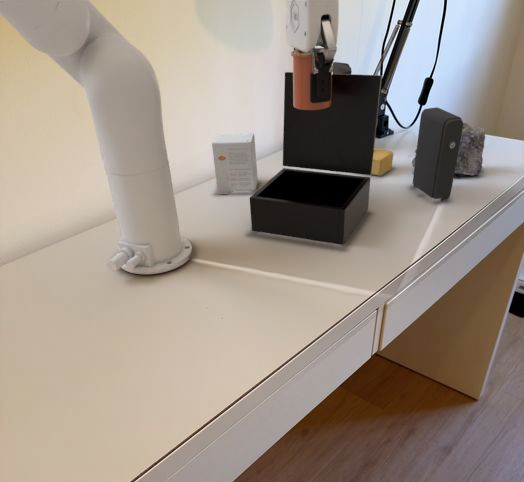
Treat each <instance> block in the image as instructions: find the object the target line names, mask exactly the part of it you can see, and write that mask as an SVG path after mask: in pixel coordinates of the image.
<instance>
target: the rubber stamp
mask: <svg viewBox="0 0 524 482" xmlns="http://www.w3.org/2000/svg"><path fill="white" fill-rule="evenodd" d="M378 117H379V116H378ZM378 117H377V124H378V123H379V118H378ZM377 126H378V125H377ZM377 126H376V128H377ZM393 159H394V151H392V150H387V149H383V148H375V147H374V154H373V163H372V172H371V175H373V176H376V177H377V176H378V177H382V176H383V175H385V174H386V173H387V172H389V171H390V170H392V169H393Z"/></svg>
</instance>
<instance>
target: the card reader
mask: <svg viewBox="0 0 524 482" xmlns="http://www.w3.org/2000/svg"><path fill="white" fill-rule="evenodd" d="M463 123H464V121H463V119H462V117H461V116H459V115H456V114H454V113H451V112H449V111H446V110H445V109H442V108H441V107H429V108H424V109H423V110H422V112H421V113H420V119H419V125H418V126H419V128H418V136H417V144H416V149H417V150H416V149H415V150H416V153H415V155H416V158H415V157H414V158H415V167H413V169H414V170H413V177H412V184H413V187H414V188H417V189H418V190H420V191H421V192H423V194H426V195H427V196H428V197H430V198H431V199H432V198H433V199H435V200H438V199H440V202H442V201H447V200H449V198H450V197H451V193H452V189H453V184H454V178H455V174H456V173H455V168H456V163H457V157H458V151H459V146H460V140H461V134H462V129H463Z"/></svg>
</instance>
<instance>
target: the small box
mask: <svg viewBox="0 0 524 482" xmlns="http://www.w3.org/2000/svg"><path fill="white" fill-rule="evenodd" d="M211 148H212V158H213V164H214V174H215V181H216V189H217V194H218V195H231V194H232V193H233V192H234V191H255V190H256V188H257V186H258V183H259V182H258V180H259V179H258V167H257V166H258V165H257V152H256V138H255V133H254V132H249V133H225V134H223V133H221V134H216V135H215V137H214V139H213V141H212V143H211Z"/></svg>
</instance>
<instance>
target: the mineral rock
mask: <svg viewBox="0 0 524 482" xmlns="http://www.w3.org/2000/svg"><path fill="white" fill-rule="evenodd" d="M485 140H486V133H485V128H484V127H481V126H477V127H475V126H474V127H472V126H471V125H469V124H468V123H467V122H463V129H462V134H461V140H460V146H459V151H458V157H457V163H456V168H455V174H456V175H466V176H471V177H472V176H479V175H480V173H481V171H482V169H483V161H484V160H483V153H484V149H485ZM416 150H417V148H416V149H415V150H414V153H415V155H414V156H415V157H413V159H412V161H411V165H412V167H413V168H414V167H415V158H416Z"/></svg>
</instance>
